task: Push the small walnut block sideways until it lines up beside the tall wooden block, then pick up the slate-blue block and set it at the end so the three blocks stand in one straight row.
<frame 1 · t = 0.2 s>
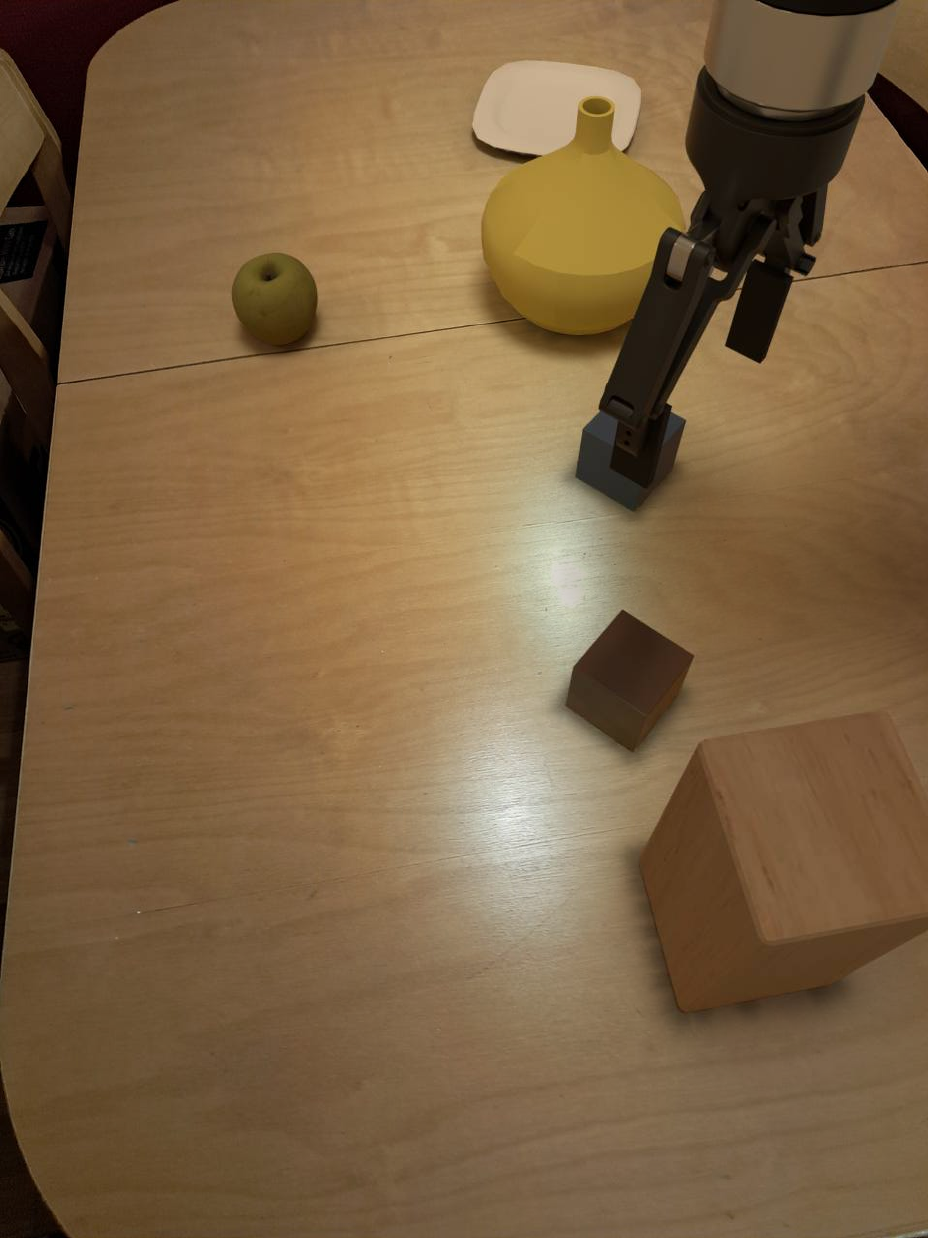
hand: (690, 411, 60), 18 cm above the table, tool pointing down, fingers open, 13 cm apart
plate: (556, 121, 107), on the table
wooden block: (730, 920, 61), on the table
apple: (283, 333, 90), on the table
vase: (574, 300, 92), on the table
slate block: (624, 472, 80), on the table
walnut block: (622, 699, 69), on the table
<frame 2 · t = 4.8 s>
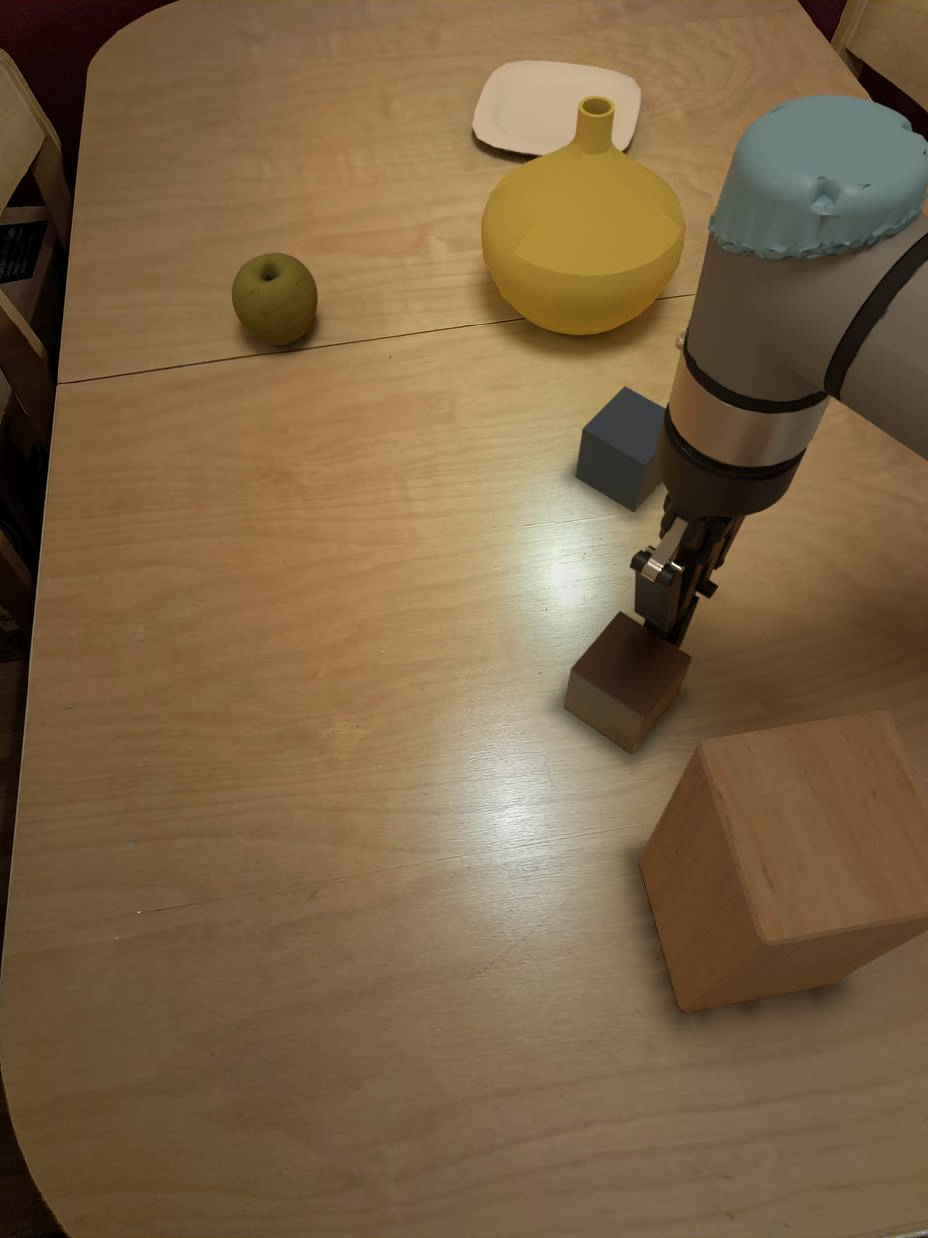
hand: (660, 641, 69), 3 cm above the table, tool pointing down, fingers closed
walnut block: (620, 701, 69), on the table, touching gripper
everything else where it was.
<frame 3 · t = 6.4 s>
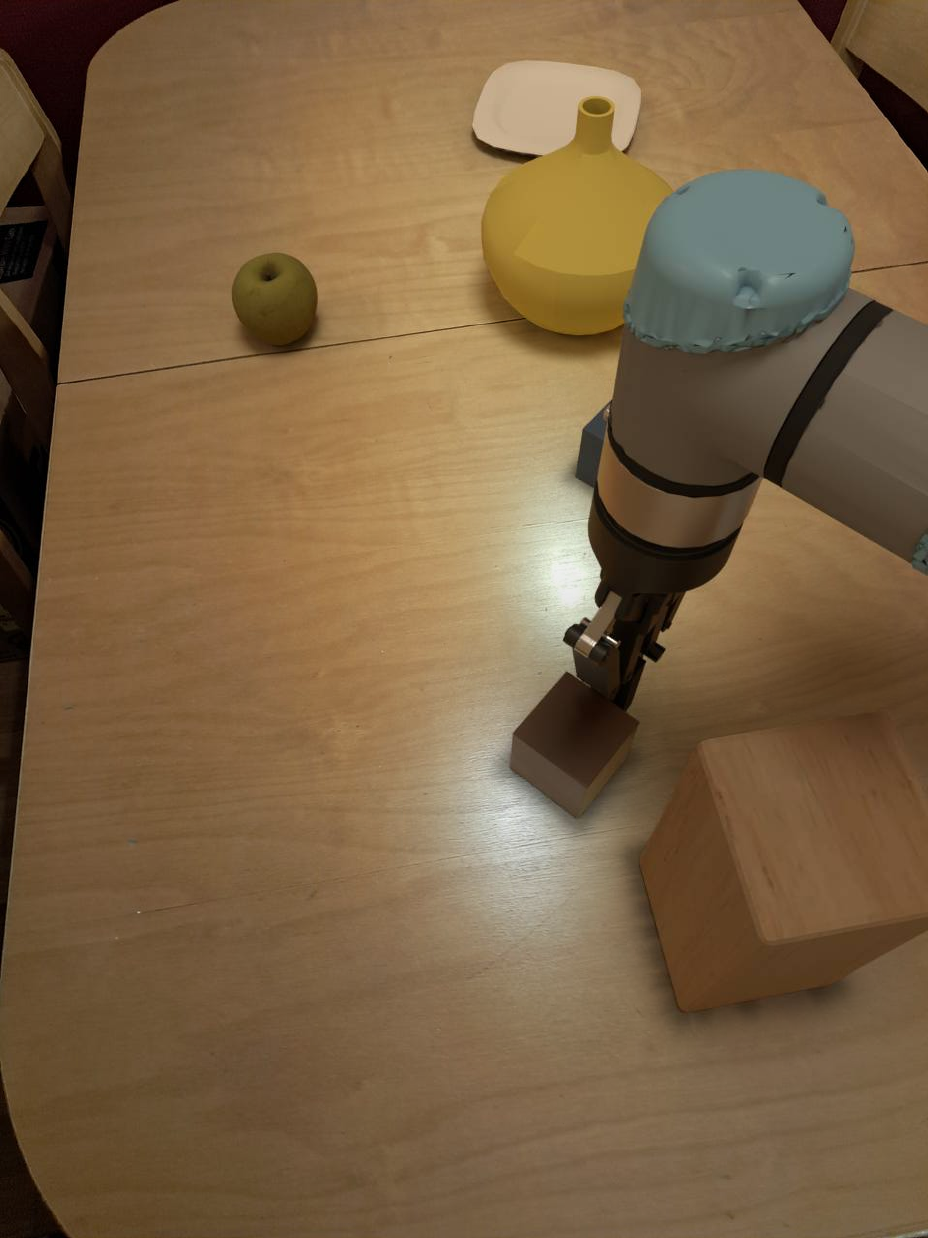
hand: (610, 700, 66), 3 cm above the table, tool pointing down, fingers closed
walnut block: (568, 762, 67), on the table, touching gripper
everything else where it was.
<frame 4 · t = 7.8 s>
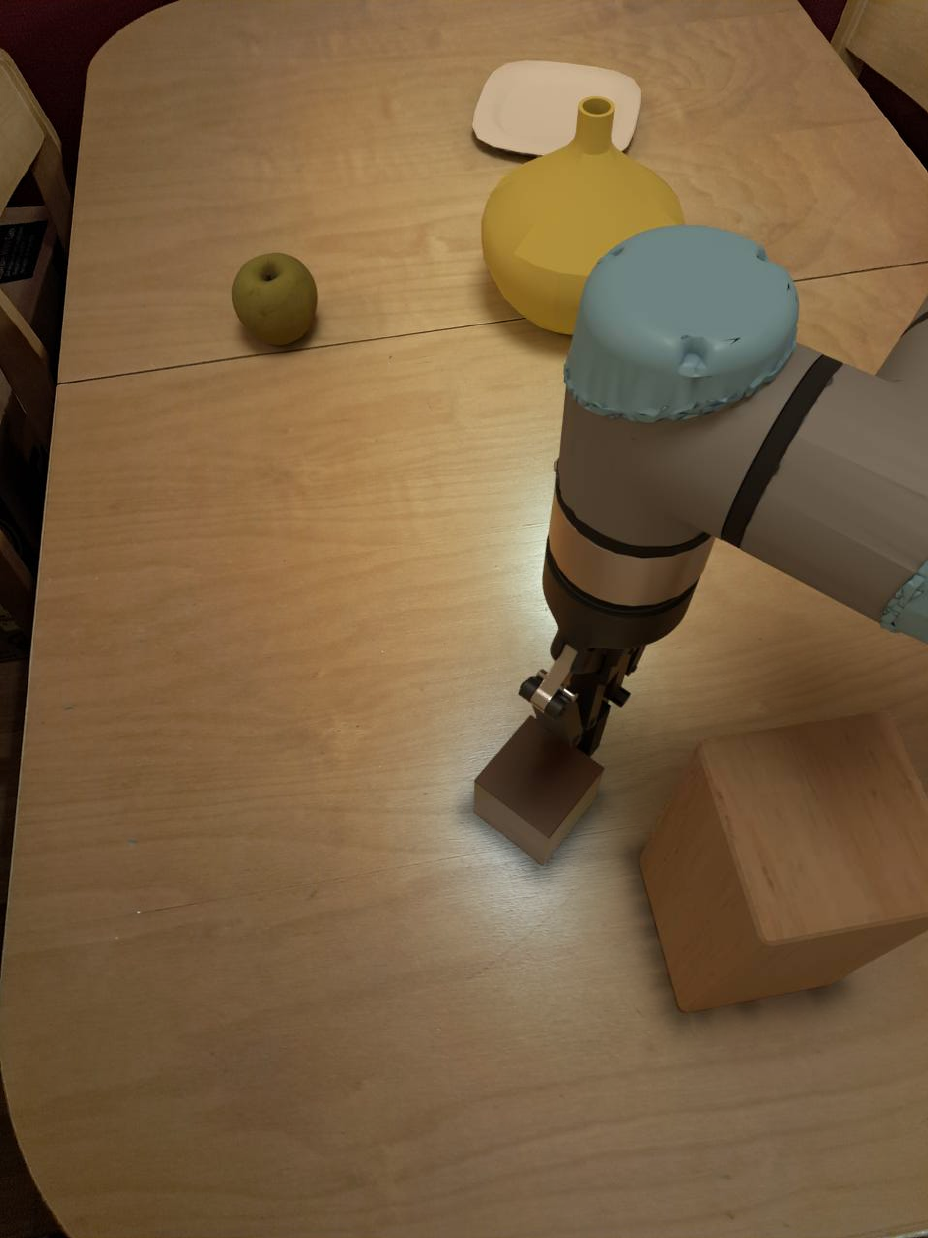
hand: (577, 742, 65), 3 cm above the table, tool pointing down, fingers closed
walnut block: (534, 806, 65), on the table, touching gripper
everything else where it was.
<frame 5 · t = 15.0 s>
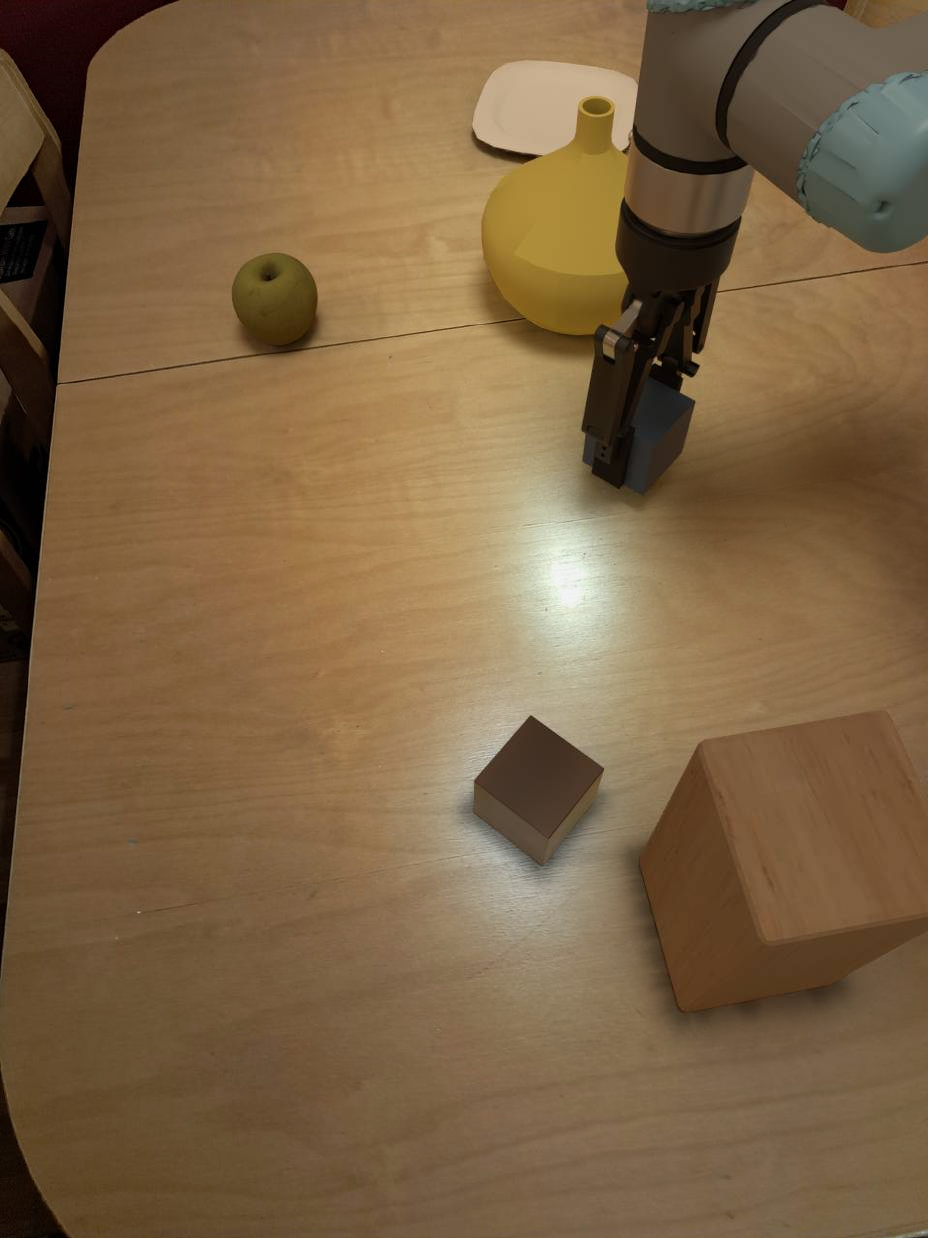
hand: (630, 453, 78), 3 cm above the table, tool pointing down, fingers closed on slate block, 6 cm apart
slate block: (632, 457, 78), point 2 cm above the table, touching gripper
walnut block: (534, 806, 65), on the table
everything else where it was.
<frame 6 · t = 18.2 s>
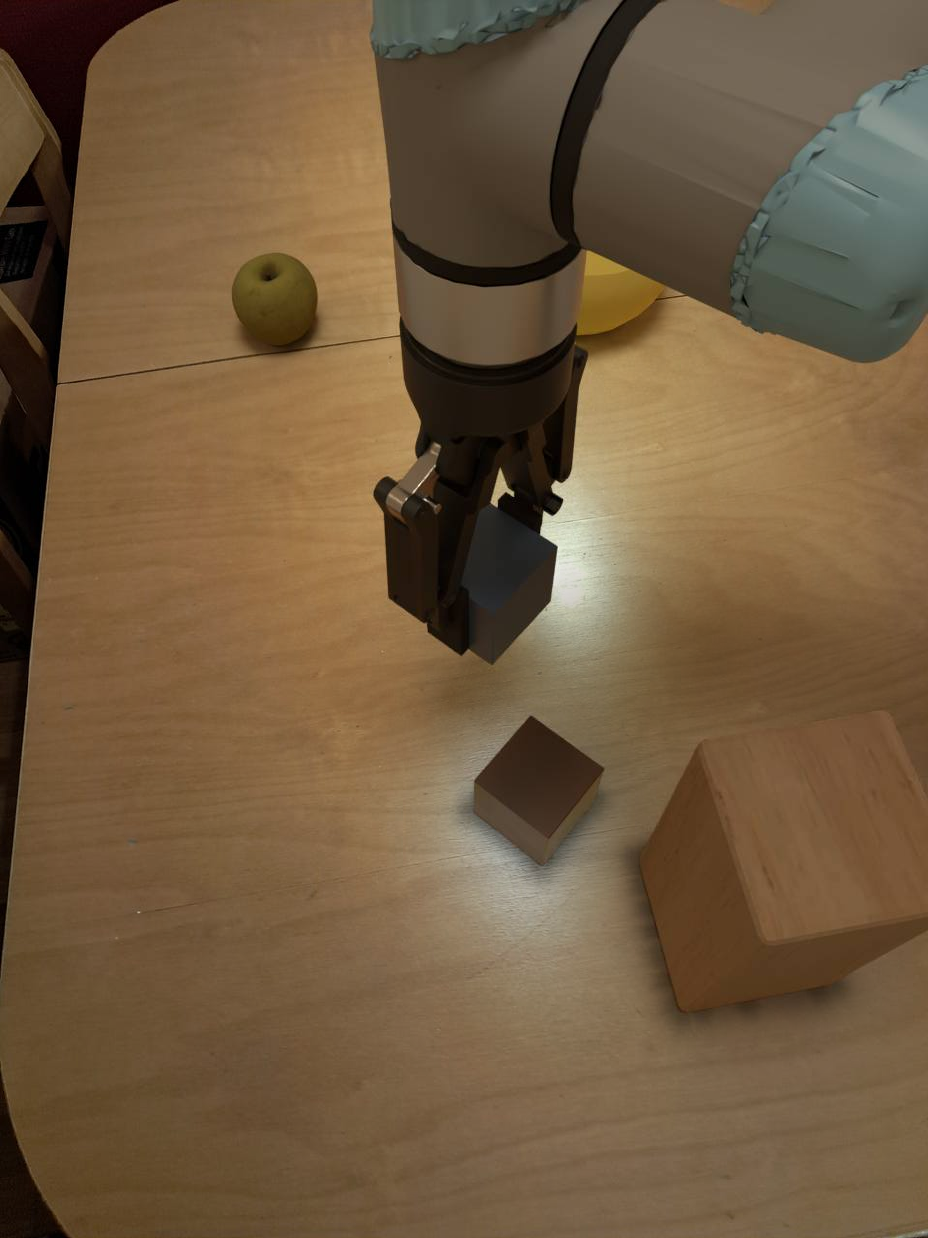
hand: (482, 603, 59), 12 cm above the table, tool pointing down, fingers closed on slate block, 6 cm apart
slate block: (484, 607, 59), point 12 cm above the table, touching gripper
everything else where it was.
when the fingers open (0 cm above the table, at t = 21.3 s): slate block stays where it is, on the table.
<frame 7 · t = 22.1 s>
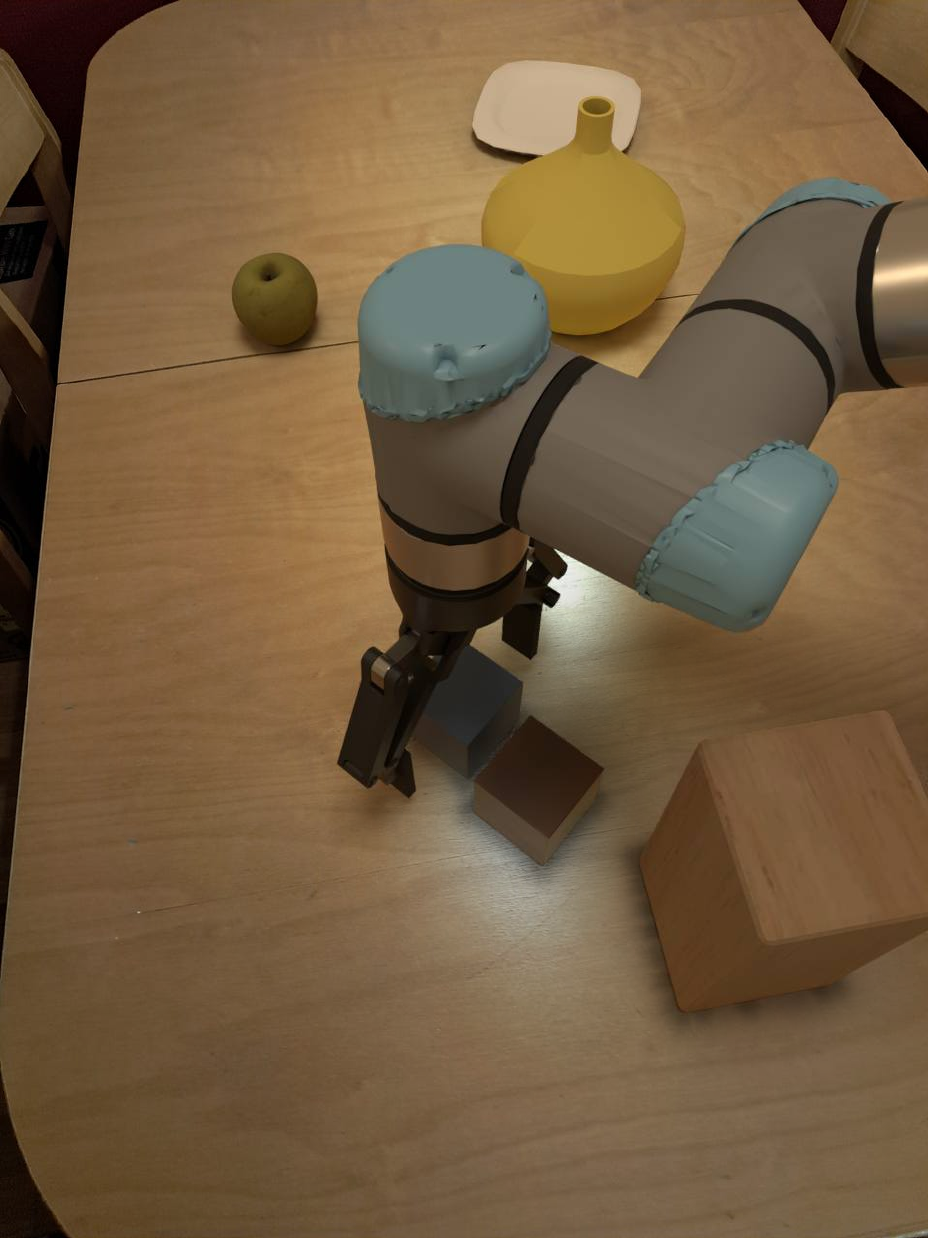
hand: (460, 712, 67), 2 cm above the table, tool pointing down, fingers open, 13 cm apart
slate block: (461, 725, 68), on the table
everything else where it was.
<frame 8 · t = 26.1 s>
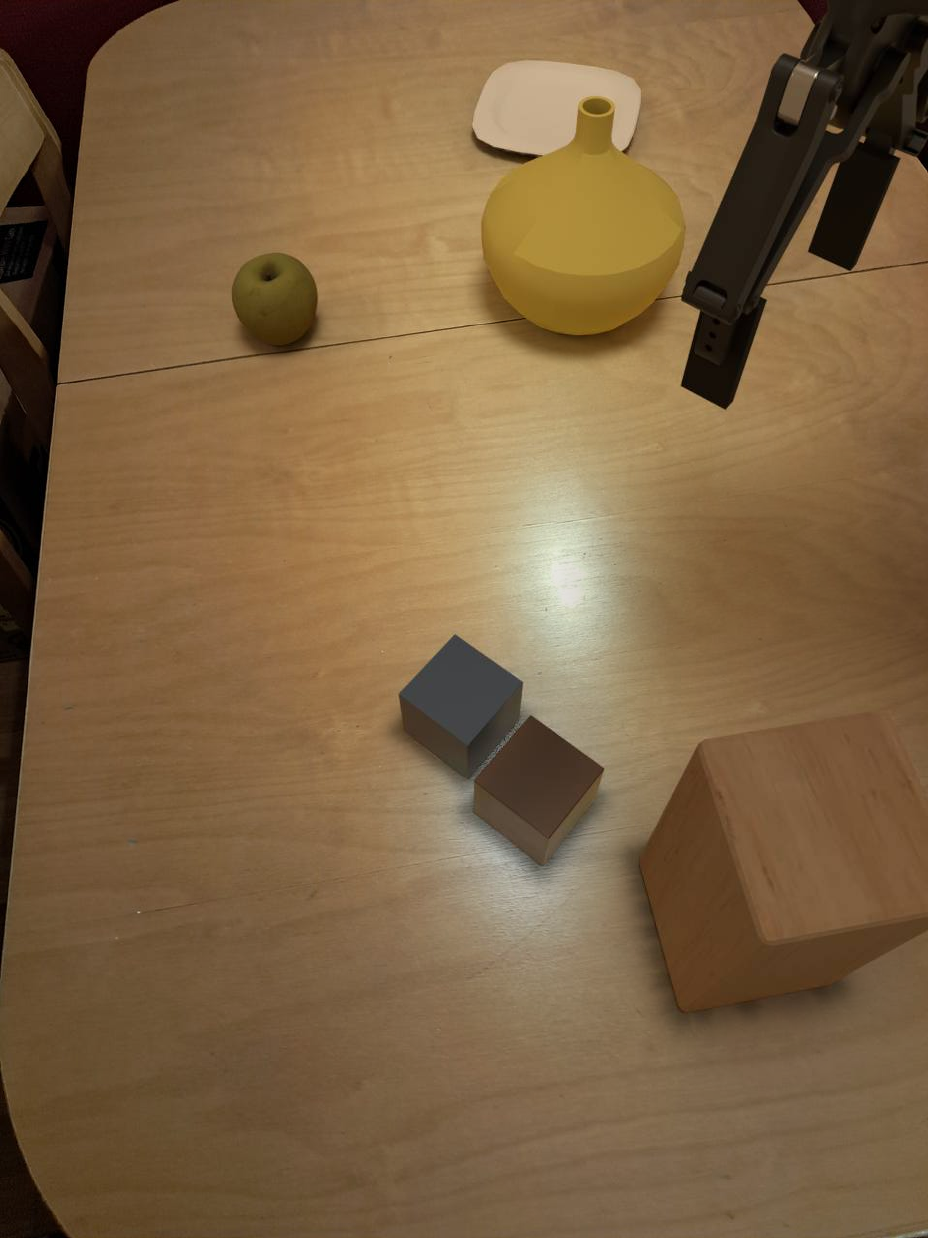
hand: (772, 322, 51), 27 cm above the table, tool pointing down, fingers open, 13 cm apart
nothing on the table moved.
at the end: walnut block inside the target area on the table beside the wooden block (2.2 cm from its centre), on the table; slate block 0.4 cm from the target spot on the table beside the wooden block, on the table; slate block tilted 0° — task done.
